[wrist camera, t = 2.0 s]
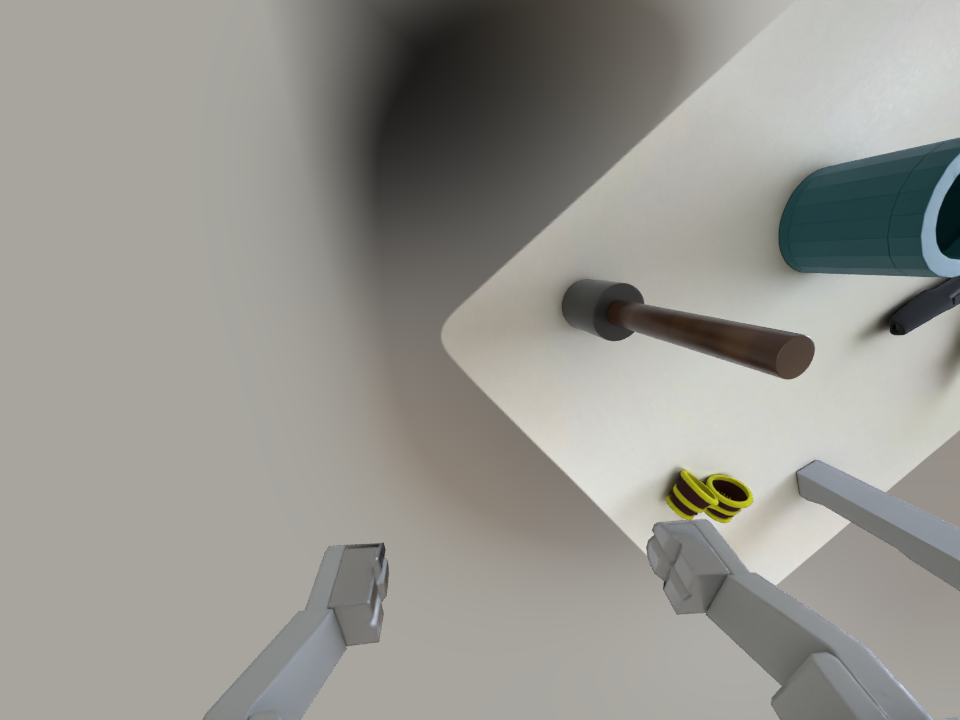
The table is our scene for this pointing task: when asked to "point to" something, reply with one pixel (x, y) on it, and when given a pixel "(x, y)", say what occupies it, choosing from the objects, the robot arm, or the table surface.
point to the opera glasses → (709, 497)
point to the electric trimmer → (926, 307)
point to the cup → (879, 216)
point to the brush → (684, 329)
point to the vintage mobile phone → (886, 519)
